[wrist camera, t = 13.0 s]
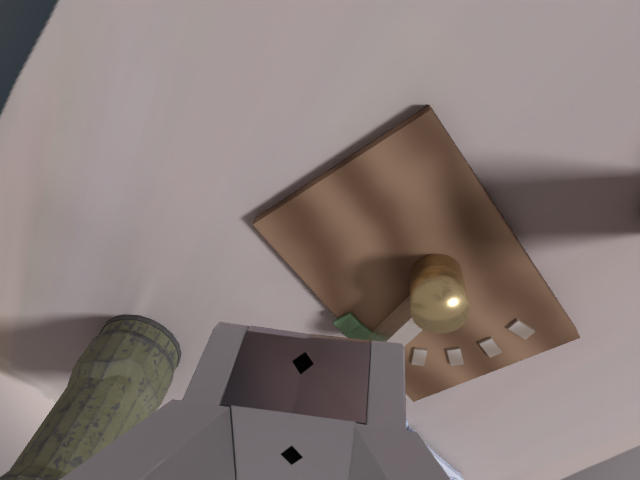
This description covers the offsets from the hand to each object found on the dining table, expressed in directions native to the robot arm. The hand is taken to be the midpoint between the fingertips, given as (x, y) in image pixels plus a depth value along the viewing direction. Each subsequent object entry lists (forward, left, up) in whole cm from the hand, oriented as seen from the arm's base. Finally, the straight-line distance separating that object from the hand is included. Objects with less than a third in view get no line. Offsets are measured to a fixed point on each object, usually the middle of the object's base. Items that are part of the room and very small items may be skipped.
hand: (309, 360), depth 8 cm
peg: (+10, +21, -30) cm, 38 cm away
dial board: (+9, +19, -31) cm, 38 cm away
